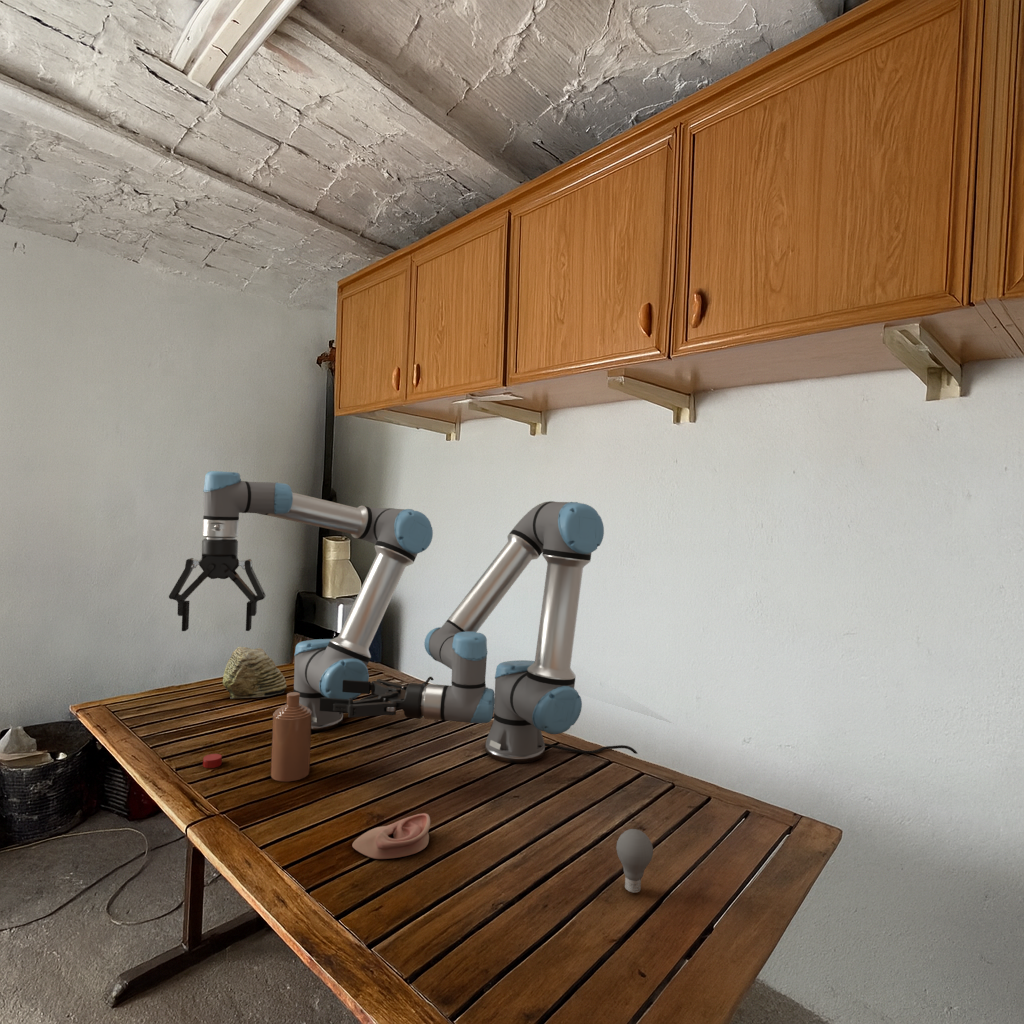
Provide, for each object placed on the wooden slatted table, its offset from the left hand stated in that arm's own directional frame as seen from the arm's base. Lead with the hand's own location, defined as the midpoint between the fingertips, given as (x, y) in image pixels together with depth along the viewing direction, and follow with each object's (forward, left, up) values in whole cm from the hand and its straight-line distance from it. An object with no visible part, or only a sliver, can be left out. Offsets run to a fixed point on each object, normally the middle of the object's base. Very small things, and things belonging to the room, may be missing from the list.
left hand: (217, 630), depth 146 cm
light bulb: (-24, +96, -31) cm, 104 cm away
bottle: (-10, +17, -31) cm, 37 cm away
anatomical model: (-6, +56, -31) cm, 64 cm away
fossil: (-33, -40, -31) cm, 61 cm away
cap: (0, 0, -30) cm, 30 cm away
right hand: (-15, +24, -13) cm, 31 cm away
